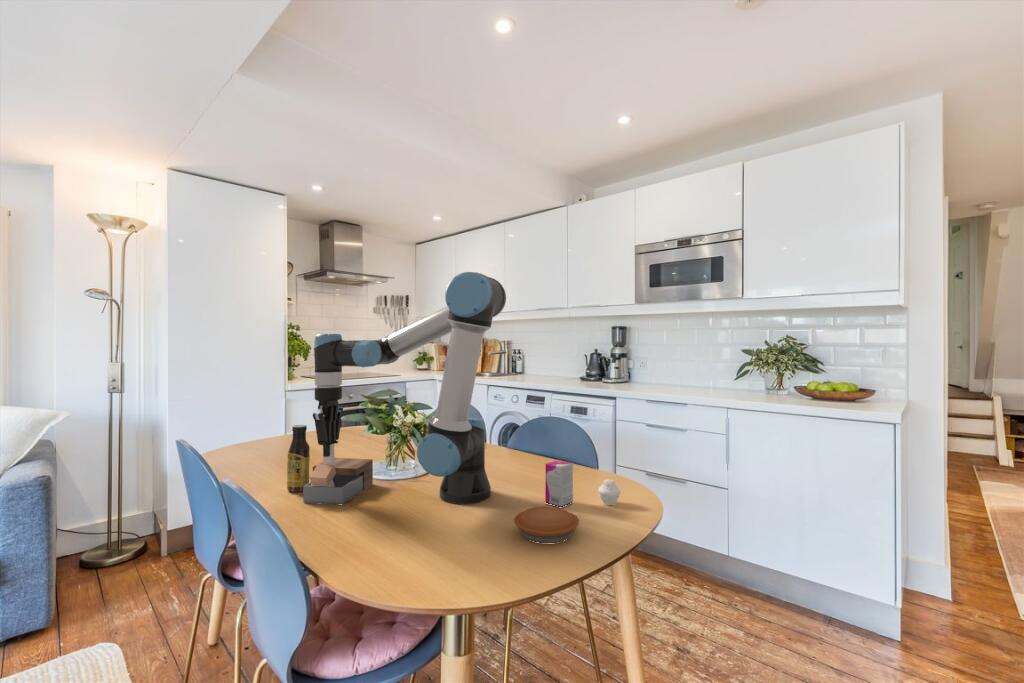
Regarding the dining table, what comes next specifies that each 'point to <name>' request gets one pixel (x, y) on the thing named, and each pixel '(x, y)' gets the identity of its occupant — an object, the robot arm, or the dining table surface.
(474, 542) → the dining table surface
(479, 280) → the robot arm
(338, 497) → the bin
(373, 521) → the dining table surface
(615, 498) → the small white jar
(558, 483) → the supplement box
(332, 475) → the salmon pink square block
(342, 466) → the plate
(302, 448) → the sauce bottle
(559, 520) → the pie
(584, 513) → the dining table surface
